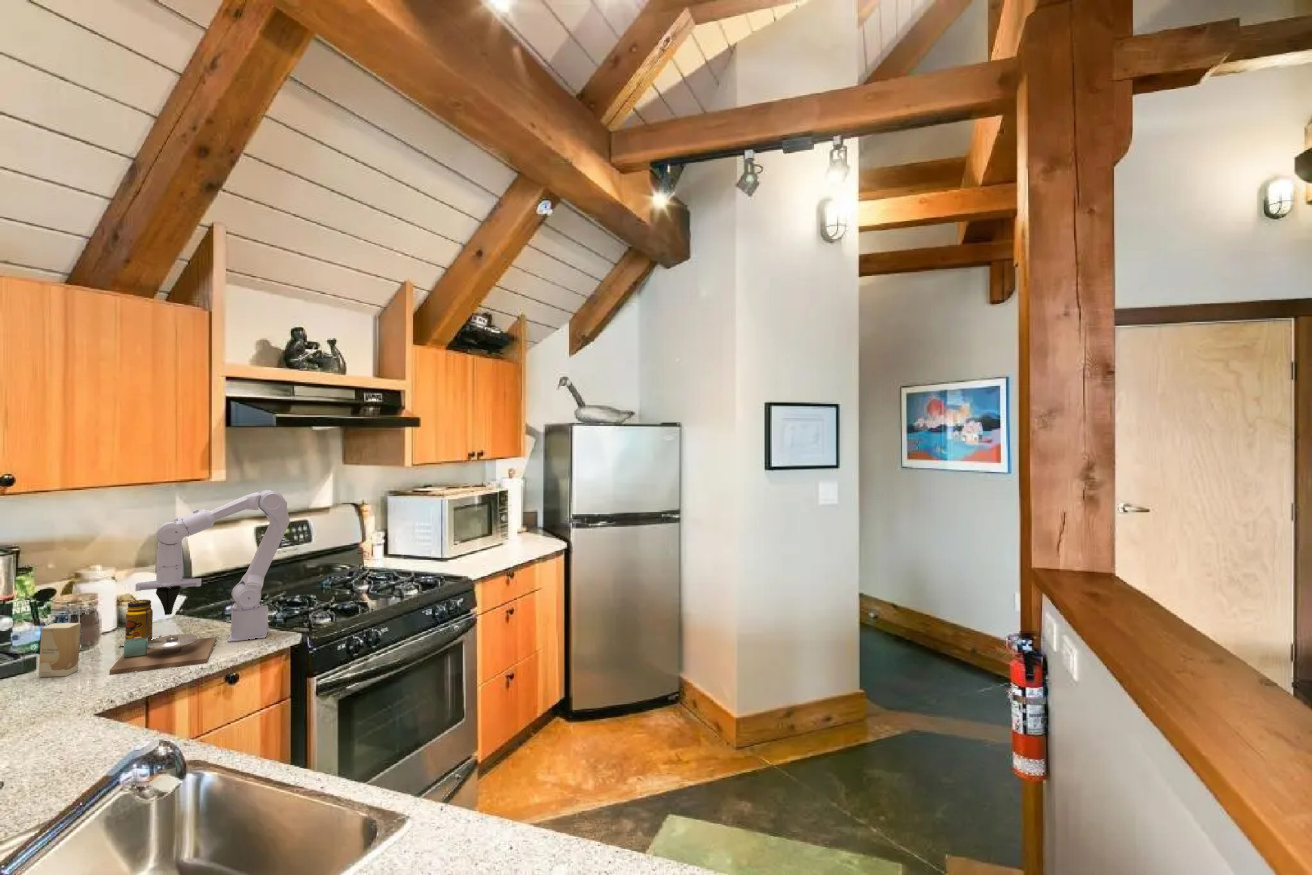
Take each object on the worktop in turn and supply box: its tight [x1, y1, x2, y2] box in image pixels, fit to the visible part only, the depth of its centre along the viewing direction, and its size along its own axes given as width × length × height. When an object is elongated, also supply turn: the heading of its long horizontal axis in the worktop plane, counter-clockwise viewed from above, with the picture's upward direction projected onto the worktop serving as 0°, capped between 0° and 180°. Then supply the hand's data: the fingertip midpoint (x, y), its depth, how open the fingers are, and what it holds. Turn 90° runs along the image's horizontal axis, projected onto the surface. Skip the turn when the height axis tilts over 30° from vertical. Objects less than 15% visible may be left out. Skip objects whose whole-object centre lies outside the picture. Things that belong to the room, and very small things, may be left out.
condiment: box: [124, 599, 162, 642], centre depth 184 cm, size 7×8×12 cm
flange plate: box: [123, 633, 198, 657], centre depth 172 cm, size 16×11×4 cm
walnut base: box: [109, 636, 218, 676], centre depth 172 cm, size 20×20×6 cm
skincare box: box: [38, 622, 82, 678], centre depth 159 cm, size 6×4×12 cm
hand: (168, 613), depth 178 cm, fingers closed
